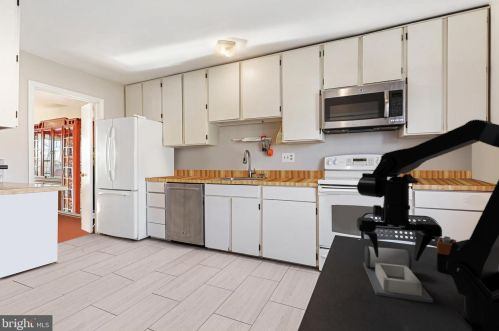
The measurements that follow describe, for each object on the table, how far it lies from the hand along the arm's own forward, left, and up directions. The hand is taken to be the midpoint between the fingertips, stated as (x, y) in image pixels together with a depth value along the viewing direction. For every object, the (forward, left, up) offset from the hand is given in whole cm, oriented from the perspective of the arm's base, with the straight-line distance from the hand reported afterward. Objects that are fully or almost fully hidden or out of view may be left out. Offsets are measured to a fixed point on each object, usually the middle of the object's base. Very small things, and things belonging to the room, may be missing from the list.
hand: (396, 258), depth 66 cm
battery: (+17, -18, -8) cm, 26 cm away
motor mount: (+4, 0, -8) cm, 8 cm away
